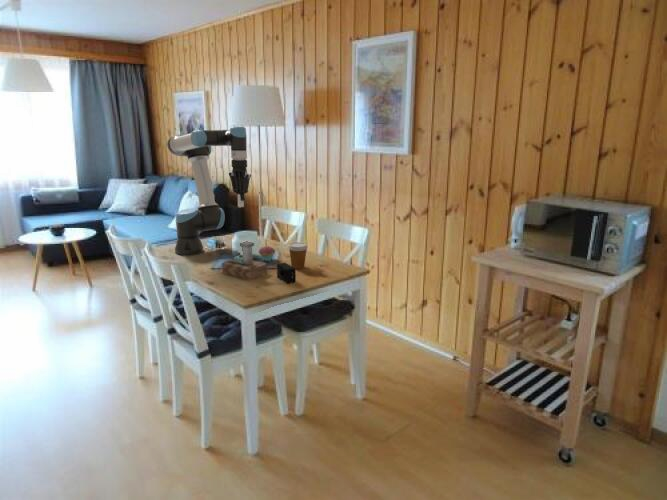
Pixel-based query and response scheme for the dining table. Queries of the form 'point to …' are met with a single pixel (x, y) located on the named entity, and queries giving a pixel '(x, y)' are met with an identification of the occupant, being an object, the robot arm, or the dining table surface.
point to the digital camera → (286, 273)
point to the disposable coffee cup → (297, 254)
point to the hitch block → (244, 269)
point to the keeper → (239, 259)
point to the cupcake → (266, 252)
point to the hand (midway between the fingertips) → (240, 206)
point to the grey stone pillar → (247, 252)
